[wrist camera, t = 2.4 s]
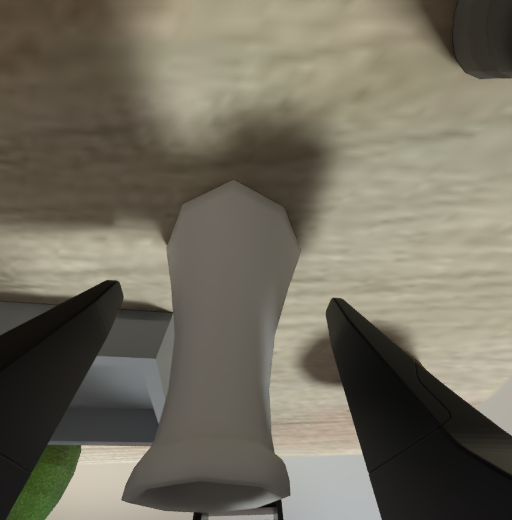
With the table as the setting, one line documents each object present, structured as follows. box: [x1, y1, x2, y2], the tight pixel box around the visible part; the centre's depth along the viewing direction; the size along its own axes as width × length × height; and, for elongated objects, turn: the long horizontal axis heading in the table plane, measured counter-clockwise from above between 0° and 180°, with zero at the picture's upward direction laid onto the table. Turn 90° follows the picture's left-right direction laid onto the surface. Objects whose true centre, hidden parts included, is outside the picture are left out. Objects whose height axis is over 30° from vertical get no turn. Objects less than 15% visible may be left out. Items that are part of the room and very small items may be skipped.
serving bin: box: [0, 301, 175, 446], centre depth 18 cm, size 15×15×4 cm
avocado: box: [6, 445, 81, 520], centre depth 21 cm, size 8×8×12 cm
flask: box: [122, 180, 301, 513], centre depth 8 cm, size 7×7×10 cm
